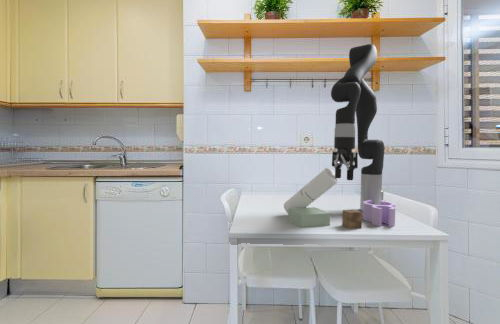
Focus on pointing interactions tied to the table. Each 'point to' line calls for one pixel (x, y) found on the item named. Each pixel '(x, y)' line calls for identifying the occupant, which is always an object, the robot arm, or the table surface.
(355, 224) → the walnut block
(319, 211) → the green box
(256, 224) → the table surface
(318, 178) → the cylindrical container
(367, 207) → the clip
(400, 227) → the table surface
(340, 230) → the table surface
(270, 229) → the table surface
